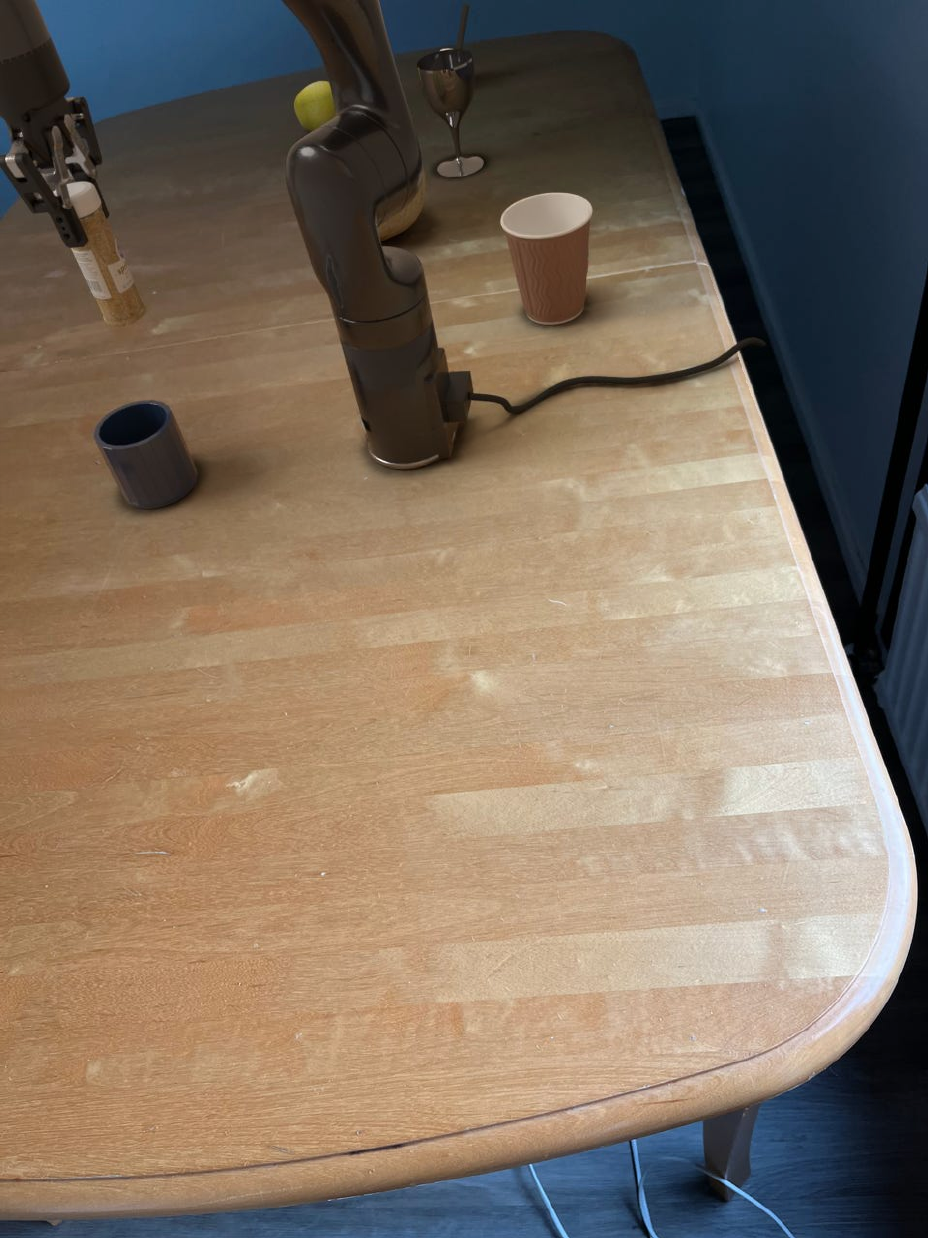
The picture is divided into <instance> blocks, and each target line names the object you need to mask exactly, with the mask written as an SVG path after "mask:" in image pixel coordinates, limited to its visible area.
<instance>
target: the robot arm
mask: <svg viewBox="0 0 928 1238" xmlns="http://www.w3.org/2000/svg"><path fill="white" fill-rule="evenodd" d="M281 2H282V3H283V4H284V5H285V6H286V8H287V9H288V10H289V11H290V13H292V15H293V16H294V17H295V18H296V19H297V21H299V23H300V24H301V25H302V26H303V27H304V29H305V31H307V33H308V35H309V37H310V38H311V39H312V41H313V43H314V45H315V47H316V49H317V51H318V54H319V56H320V58H321V61H322V64H323V68H324V70H325V74H326V77H327V80H328V82H329V84H330V88H331V92H332V96H333V101H334V106H335V117H334V118H333V119H331V120H330V121H328V122H326V123H325V124H323V125H322V126H320V127H318V128H317V129H315V130H314V131H312V132H309V133H307V134H306V135H304V136H303V137H302V138H300V139H298V140H297V141H296V142H295V143H294V144H293V145H292V146H291V147H290V149H289V150H288V153H287V155H286V159H285V168H284V169H285V182H286V189H287V192H288V196H289V197H288V198H289V201H290V204H291V207H292V211H293V214H294V217H295V220H296V222H297V225H298V228H299V231H300V234H301V237H302V239H303V242H304V245H305V249H306V252H307V254H308V255H307V256H308V258H309V261H310V264H311V267H312V270H313V272H314V274H315V276H316V279H317V280H318V282H319V284H320V285H321V287H322V288H323V290H324V292H325V293H326V295H327V298H328V300H329V303H330V307H331V311H332V314H333V319H334V322H335V323H334V324H335V327H336V330H337V333H338V337H339V341H340V345H341V349H342V352H343V357H344V359H345V363H346V367H347V371H348V374H349V378H350V383H351V386H352V390H353V392H354V393H353V394H354V396H355V400H356V404H357V408H358V410H356V413H357V417H358V420H359V422H360V424H361V427H362V428H363V431H364V435H365V440H366V442H367V447H368V448H367V449H368V452H369V455H370V457H371V458H372V460H374V461H375V462H376V463H377V464H379V465H380V466H383V467H386V468H389V469H394V470H411V469H412V470H413V469H418V468H422V467H426V466H429V465H431V464H433V463H435V462H436V461H439V460H447V459H450V458H452V457H451V456H452V452H453V448H454V444H455V442H456V439H457V438H456V437H457V431H458V428H459V423H467V422H468V417H469V414H470V410H471V409H470V408H471V405H472V401H474V402H484V403H486V402H487V403H493V404H497V405H501V406H502V407H503V409H504V411H505V412H507V413H508V414H521V413H523V412H525V411H528V410H530V409H531V408H532V407H534V406H536V405H537V404H539V403H541V402H542V401H544V400H546V399H547V398H549V397H551V396H552V395H554V394H555V393H557V392H559V391H560V390H563V389H565V388H569V387H571V386H578V385H586V384H601V385H602V384H603V385H605V384H606V385H618V386H619V385H622V386H631V385H632V386H633V385H635V386H636V385H645V384H653V383H661V382H666V381H667V382H668V381H672V380H677V379H681V378H686V377H689V376H692V375H697V374H700V373H703V372H706V371H708V370H711V369H712V370H713V369H715V368H716V367H718V366H720V365H722V364H723V363H725V362H727V361H728V360H729V359H731V358H732V357H733V356H735V355H736V354H737V353H738V352H740V351H741V350H743V349H744V348H746V347H748V346H755V347H758V348H764V347H765V346H766V345H767V343H766V342H765V341H764V340H762V339H761V338H758V337H747V338H744V339H742V340H740V341H739V342H737V343H735V344H734V345H733V346H731V347H730V348H729V349H728V350H726V351H725V352H724V353H722V354H721V355H720V356H718V357H716V358H715V359H713V360H710V361H708V362H705V363H702V364H699V365H694V366H692V367H688V368H683V369H680V370H676V371H671V372H670V371H669V372H664V373H659V374H658V373H657V374H652V375H645V376H633V377H632V376H630V377H629V376H628V377H626V376H625V377H624V376H622V377H621V376H608V375H607V376H605V375H587V376H586V375H585V376H578V377H577V376H576V377H572V378H568V379H565V380H561V381H559V382H557V383H555V384H553V385H552V386H550V387H548V388H546V389H545V390H543V391H542V392H541V393H539V394H538V395H536V396H535V397H533V398H532V399H530V400H529V401H526V402H524V403H522V404H519V405H512V404H511V403H510V402H509V400H508V399H507V398H505V397H502V396H499V395H496V394H491V393H479V392H474V391H475V390H474V386H473V380H472V374H471V370H457V371H450V369H449V366H448V359H447V354H446V350H445V347H439V343H438V339H437V333H436V329H435V323H434V317H433V312H432V308H431V301H430V296H429V292H428V287H427V281H426V274H425V270H424V267H423V264H422V262H421V259H420V258H419V257H418V256H417V255H416V254H415V253H413V252H412V251H410V250H409V249H405V248H401V247H398V246H390V245H389V246H388V245H383V244H382V241H380V238H379V235H378V230H377V228H378V227H379V226H380V225H382V224H383V223H385V222H386V221H387V220H389V219H390V218H391V217H393V216H394V215H395V214H397V213H398V212H400V211H401V210H402V209H404V208H405V207H406V206H407V205H408V204H409V203H410V202H411V201H412V200H413V199H414V198H415V196H416V195H417V193H418V191H419V189H420V185H421V182H422V166H423V159H422V152H421V147H420V143H419V139H418V134H417V130H416V127H415V124H414V121H413V118H412V114H411V110H410V107H409V104H408V101H407V97H406V94H405V90H404V88H403V84H402V80H401V77H400V74H399V71H398V68H397V64H396V61H395V57H394V54H393V51H392V48H391V43H390V41H389V37H388V32H387V29H386V25H385V20H384V17H383V12H382V8H381V3H380V0H281ZM70 88H71V82H70V79H69V77H68V75H67V72H66V70H65V67H64V65H63V63H62V60H61V58H60V56H59V52H58V50H57V48H56V46H55V42H54V41H53V38H52V36H51V33H50V31H49V28H48V26H47V24H46V21H45V19H44V16H43V14H42V12H41V9H40V7H39V5H38V2H37V0H0V118H1V119H2V120H4V122H5V124H6V127H7V131H8V136H9V140H10V143H11V144H12V145H11V147H10V150H9V152H8V153H5V154H0V169H1V170H2V172H3V174H4V175H5V176H6V178H7V180H8V181H9V182H10V183H11V185H12V186H13V188H14V189H15V191H16V192H17V194H18V195H19V196H20V198H21V199H22V200H23V202H24V204H25V205H26V206H27V208H28V209H29V211H30V212H31V213H32V214H45V213H47V214H48V215H49V216H50V217H51V220H52V222H53V224H54V226H55V228H56V230H57V232H58V235H59V237H60V239H61V241H62V243H63V244H64V245H65V246H66V248H69V249H71V248H76V247H84V246H85V245H86V244H87V242H88V238H87V235H86V233H85V231H84V229H83V226H82V224H81V222H80V220H79V217H78V215H77V213H76V211H75V208H74V206H71V200H70V196H69V192H68V188H67V184H68V181H69V180H70V181H71V182H90V183H92V184H93V185H94V186H95V188H96V191H97V193H98V195H99V197H100V200H101V206H102V210H103V212H104V214H105V217H106V219H107V220H108V218H109V217H110V211H109V209H108V207H107V204H106V201H105V199H104V196H103V194H102V191H101V189H100V186H99V185H98V182H97V180H98V177H99V174H98V170H97V166H101V165H102V164H103V156H102V152H101V149H100V145H99V141H98V138H97V134H96V130H95V127H94V122H93V119H92V116H91V111H90V107H89V104H88V101H87V99H86V97H85V96H72V97H65V96H66V95H68V93H69V92H70ZM83 139H84V140H85V141H86V143H85V142H84V140H83ZM86 144H87V145H86ZM49 169H54V171H53V172H48V173H43V172H41V170H49ZM49 184H53V185H54V186H55V190H56V192H57V195H58V196H55V194H54V193H53V191H54V190H52V188H51V186H50V185H49ZM36 194H37V196H38V198H37V196H36Z"/></svg>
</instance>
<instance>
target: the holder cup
mask: <svg viewBox="0 0 928 1238" xmlns="http://www.w3.org/2000/svg"><path fill="white" fill-rule="evenodd" d="M93 430H94V431H93V440H94V441H95V444H96V446H97V448H98V449H99V452H100V453H101V455H102V457H103V459H104V461H105V463H106V465H107V467H108V470H109V472H110V473H111V475H112V477H113V479H114V481H115V483H116V485H117V487H118V489H119V491H120V493H121V495H122V497H123V498H124V500H125V502H126V503H127V504H128V505H129V506H132V507H133V508H137V509H141V510H154V509H155V510H156V509H160V508H164V507H167V506H169V505H172V504H174V503H176V502H177V501H180V500H182V499H183V498H184V497H186V496H187V495H188V494H189V492H191V491H192V490H193V489H194V487H195V486H196V484H197V481H198V478H199V472H198V469H197V466H196V463H195V462H194V458H193V457H192V455H191V452H190V450H189V446H188V445H187V443H186V441H185V438H184V435H183V433H182V432H181V429H180V427H179V424H178V422H177V419H176V417H175V415H174V412H173V410H172V409H171V408H170V406H169V405H168V404H166V403H164V402H163V401H160V400H152V399H147V400H146V399H145V400H138V401H133V402H130V403H126V404H124V405H122V406H119V407H117V408H115V409H113V410H112V411H109V412H108V413H107V414H105V416H104V417H102V418H101V419H100V420H99V421H98V423H97V424H96V426H95V427H94V429H93Z"/></svg>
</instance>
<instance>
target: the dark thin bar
mask: <svg viewBox="0 0 928 1238" xmlns="http://www.w3.org/2000/svg"><path fill="white" fill-rule="evenodd" d="M469 10H470V4H469V3H468V2H467V1H465V2H463V4H462V8H461V16H460V21H459V27H458V33H457V39H456V44H455V49H463V45H464V39H465V35H466V34H465V33H466V27H467V21H468V17H469ZM449 49H450V48H447V47H446V48H441V49H440V50H439V51H442V50H449Z"/></svg>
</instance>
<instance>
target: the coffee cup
mask: <svg viewBox="0 0 928 1238" xmlns="http://www.w3.org/2000/svg"><path fill="white" fill-rule="evenodd" d="M592 215H593V206H592V204H591V203H590V201H589V200H588V199H586V198H585V197H582V196H580V195H578V194H573V193H569V192H547V193H540V194H535V195H531V196H529V197H525V198H522V199H520V200H517V201H516V202H514V203H513V204H511V205H509V206H508V207H507V208H506V209H504V211H503V212H502V214H501V217H500V221H499V223H500V225H501V228H502V230H504V234H505V237H506V242H507V246H508V250H509V255H510V258H511V262H512V266H513V270H514V274H515V278H516V283H517V286H518V291H519V294H520V298H521V299H520V300H521V302H522V306H523V309H524V311H525V314H526V316H527V318H529V320H531V321H532V322H534V323H536V324H540V325H544V326H554V325H555V326H556V325H562V324H565V323H569V322H571V321H574V320H575V319H576V318H578V317H579V315H581V313H583V311H584V309H585V308H584V306H585V301H586V295H587V279H588V278H587V277H588V276H587V275H588V271H589V256H590V255H589V254H590V253H589V242H590V226H591V225H590V224H591V217H592Z"/></svg>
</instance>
